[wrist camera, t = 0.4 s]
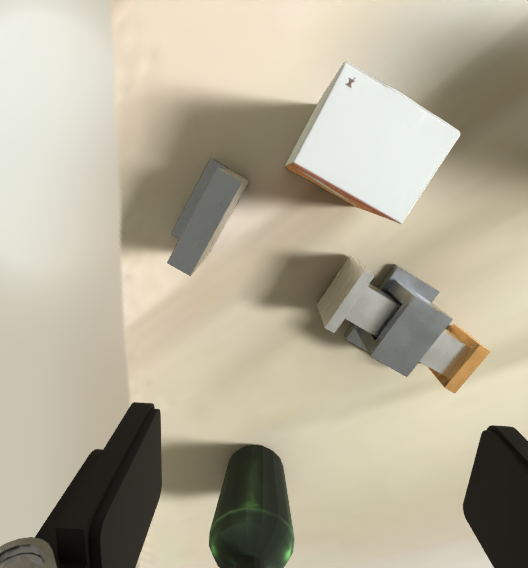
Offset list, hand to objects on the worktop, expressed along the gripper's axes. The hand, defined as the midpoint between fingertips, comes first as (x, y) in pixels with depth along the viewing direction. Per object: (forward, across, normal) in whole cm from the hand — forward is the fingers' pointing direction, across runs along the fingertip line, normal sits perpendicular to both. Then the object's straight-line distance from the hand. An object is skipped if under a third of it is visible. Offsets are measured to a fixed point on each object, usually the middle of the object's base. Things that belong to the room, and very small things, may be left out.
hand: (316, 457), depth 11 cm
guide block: (+27, -11, +5) cm, 30 cm away
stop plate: (+27, +6, -4) cm, 28 cm away
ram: (+27, -11, +5) cm, 30 cm away
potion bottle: (+28, +1, +25) cm, 38 cm away
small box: (+28, -4, -10) cm, 30 cm away
